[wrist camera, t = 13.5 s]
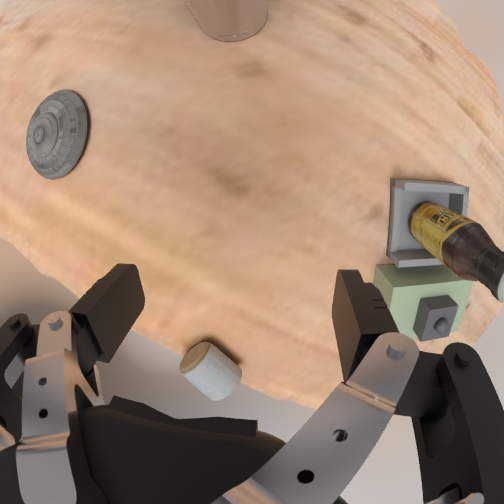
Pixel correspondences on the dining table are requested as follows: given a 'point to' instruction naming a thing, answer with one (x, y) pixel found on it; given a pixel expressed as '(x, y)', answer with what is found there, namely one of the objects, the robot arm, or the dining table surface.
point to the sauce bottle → (459, 245)
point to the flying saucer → (57, 134)
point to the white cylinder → (211, 371)
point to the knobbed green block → (421, 265)
